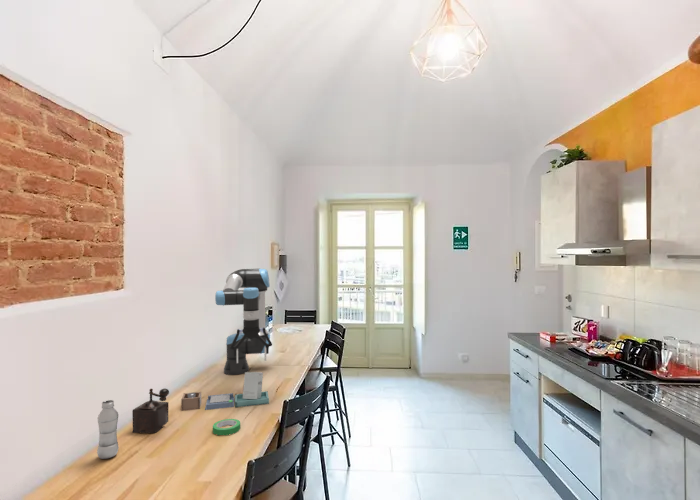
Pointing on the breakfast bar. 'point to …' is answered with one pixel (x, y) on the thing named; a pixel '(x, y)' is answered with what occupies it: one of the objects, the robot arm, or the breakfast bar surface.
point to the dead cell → (191, 395)
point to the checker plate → (220, 398)
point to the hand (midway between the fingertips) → (251, 361)
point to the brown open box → (191, 402)
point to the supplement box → (252, 385)
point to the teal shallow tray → (251, 400)
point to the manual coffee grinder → (151, 414)
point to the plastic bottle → (107, 431)
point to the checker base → (219, 405)
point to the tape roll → (226, 431)
